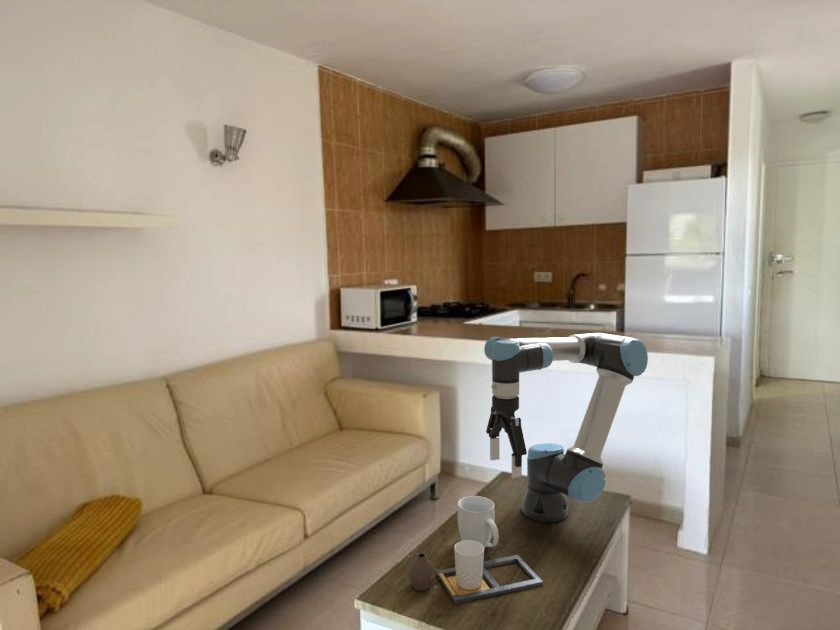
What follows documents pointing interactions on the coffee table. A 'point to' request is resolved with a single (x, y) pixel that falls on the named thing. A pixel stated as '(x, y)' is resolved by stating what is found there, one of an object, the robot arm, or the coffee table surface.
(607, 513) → the coffee table surface
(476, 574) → the white cup
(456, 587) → the grey double frame
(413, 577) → the vase
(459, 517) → the mug
